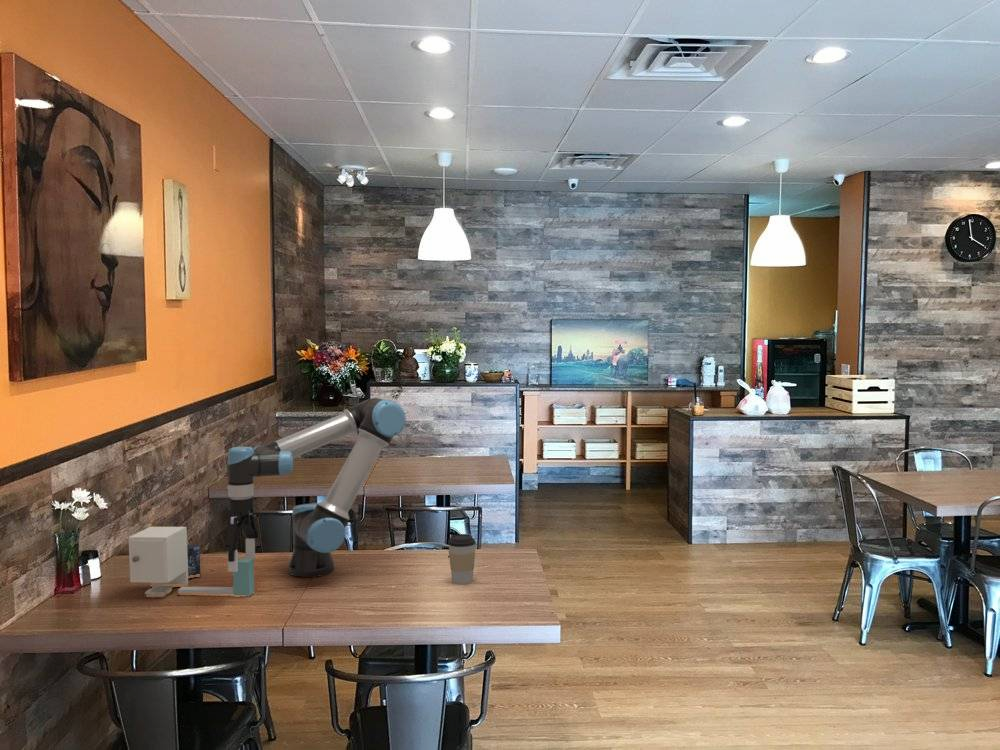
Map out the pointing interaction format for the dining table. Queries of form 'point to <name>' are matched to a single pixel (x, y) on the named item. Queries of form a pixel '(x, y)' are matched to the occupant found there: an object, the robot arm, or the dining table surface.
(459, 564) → the coffee cup
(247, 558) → the robot arm
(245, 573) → the hammer tool
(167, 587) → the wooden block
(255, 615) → the dining table surface
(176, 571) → the wall cabinet
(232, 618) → the dining table surface
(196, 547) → the box
